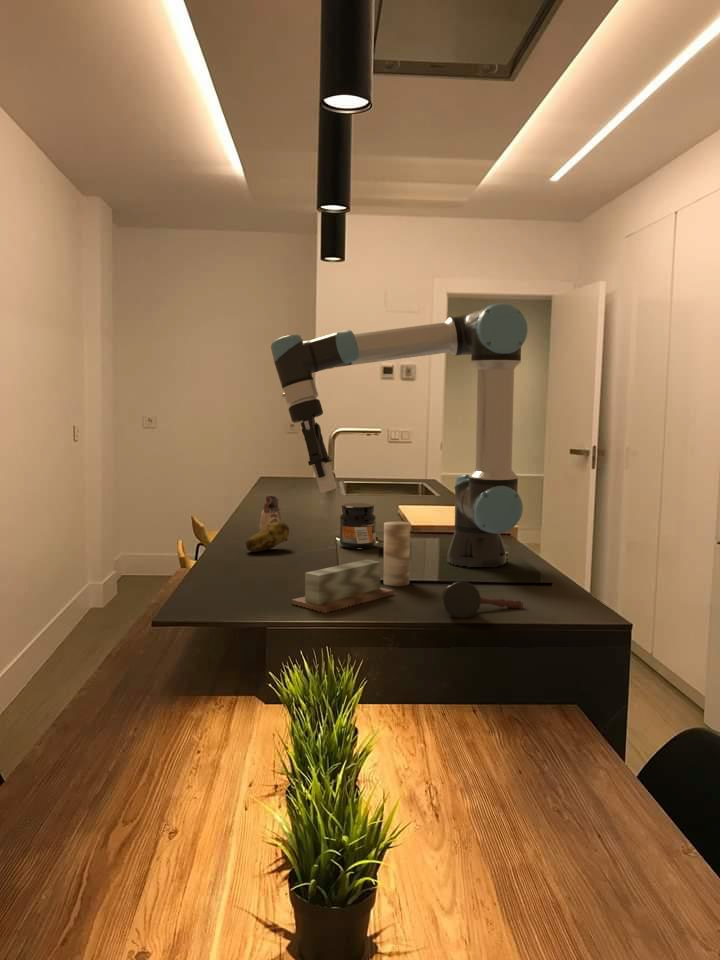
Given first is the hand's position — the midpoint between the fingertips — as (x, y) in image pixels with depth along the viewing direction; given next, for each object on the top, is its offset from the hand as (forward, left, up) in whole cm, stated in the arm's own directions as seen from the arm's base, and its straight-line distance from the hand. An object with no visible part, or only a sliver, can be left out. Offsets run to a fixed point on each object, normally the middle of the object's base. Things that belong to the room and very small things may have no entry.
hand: (329, 490), depth 194 cm
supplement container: (-19, -40, -22) cm, 49 cm away
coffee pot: (-23, +35, -22) cm, 47 cm away
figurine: (0, -70, -22) cm, 73 cm away
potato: (+7, -41, -22) cm, 47 cm away
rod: (-14, +6, -21) cm, 27 cm away
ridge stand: (+2, +17, -21) cm, 27 cm away
